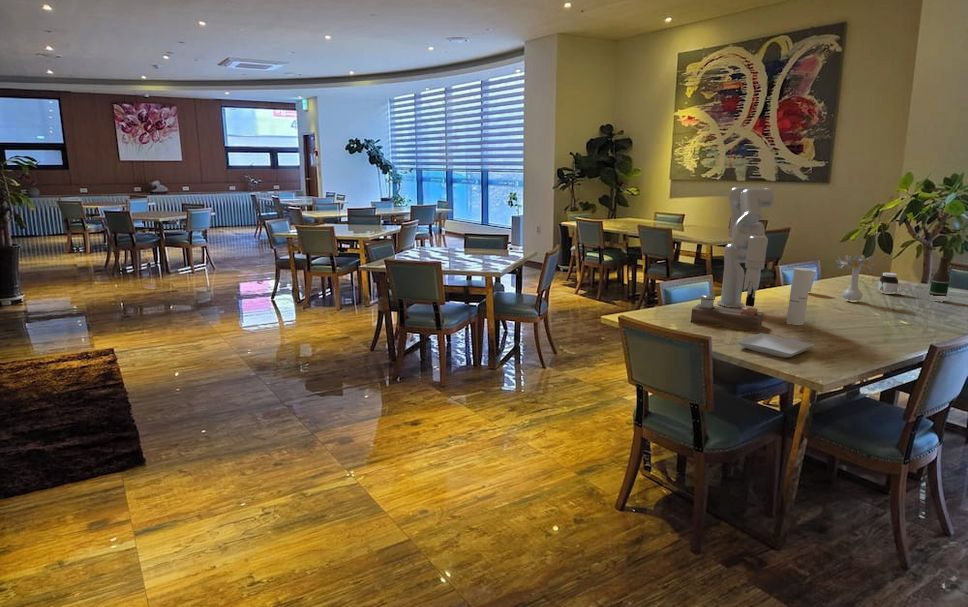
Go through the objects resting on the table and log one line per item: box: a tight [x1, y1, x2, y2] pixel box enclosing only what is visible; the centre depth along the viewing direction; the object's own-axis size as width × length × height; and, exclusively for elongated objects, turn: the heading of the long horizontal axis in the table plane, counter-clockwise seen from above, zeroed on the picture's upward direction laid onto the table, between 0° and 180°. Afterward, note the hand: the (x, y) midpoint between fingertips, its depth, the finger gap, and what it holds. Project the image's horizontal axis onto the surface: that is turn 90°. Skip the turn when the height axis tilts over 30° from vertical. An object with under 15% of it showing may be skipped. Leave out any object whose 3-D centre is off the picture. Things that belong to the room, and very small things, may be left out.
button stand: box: [690, 303, 764, 332], centre depth 275 cm, size 12×28×6 cm, turn 58°
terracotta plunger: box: [741, 306, 759, 316], centre depth 270 cm, size 6×6×6 cm
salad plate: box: [736, 332, 815, 359], centre depth 237 cm, size 21×21×3 cm
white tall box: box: [786, 267, 813, 326], centre depth 275 cm, size 7×7×25 cm
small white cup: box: [699, 294, 716, 310], centre depth 278 cm, size 6×6×6 cm
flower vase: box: [835, 254, 877, 301], centre depth 325 cm, size 13×18×25 cm
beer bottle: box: [928, 256, 950, 297], centre depth 331 cm, size 8×8×24 cm
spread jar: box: [877, 272, 904, 293], centre depth 348 cm, size 12×11×12 cm
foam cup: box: [809, 268, 817, 293], centre depth 347 cm, size 10×9×13 cm
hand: (749, 305), depth 269 cm, fingers closed
